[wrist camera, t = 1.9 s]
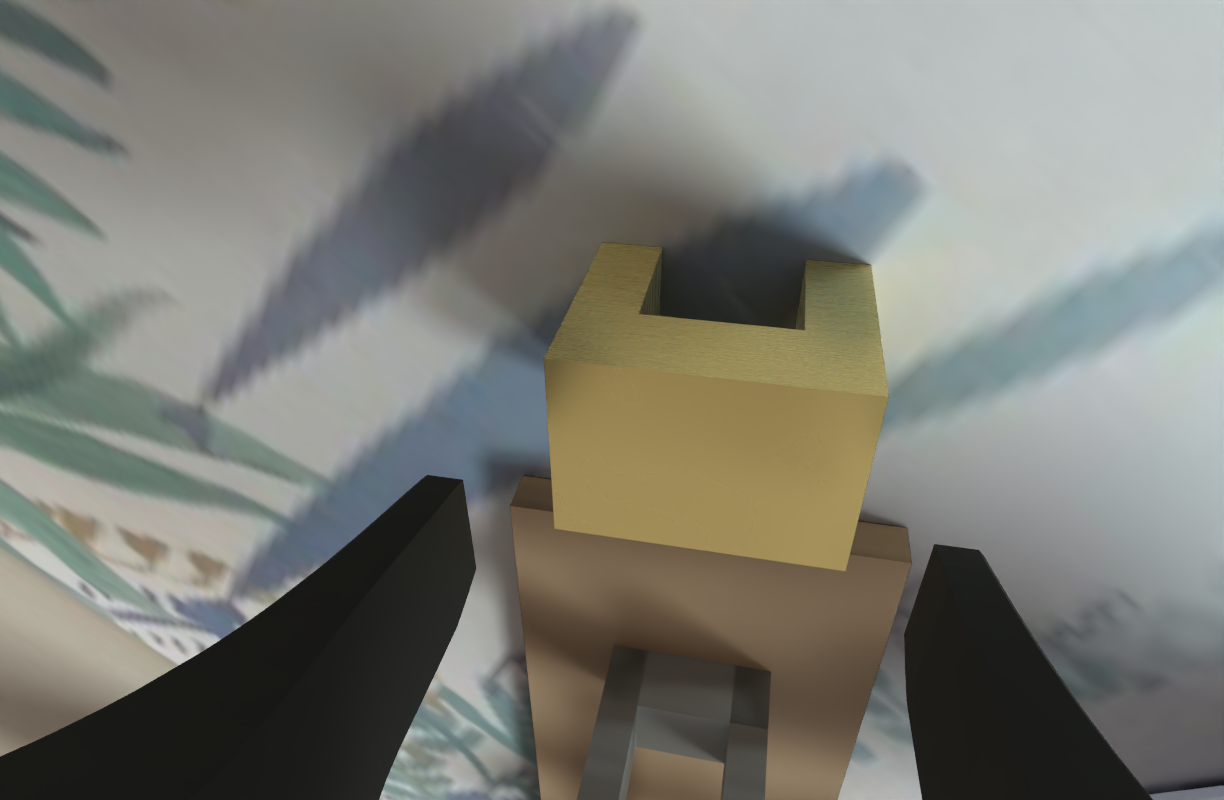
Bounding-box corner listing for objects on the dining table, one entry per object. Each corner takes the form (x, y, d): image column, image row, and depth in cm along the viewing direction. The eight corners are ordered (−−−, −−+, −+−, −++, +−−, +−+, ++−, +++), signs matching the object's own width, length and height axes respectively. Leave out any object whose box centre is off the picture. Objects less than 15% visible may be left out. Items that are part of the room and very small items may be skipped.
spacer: (602, 242, 17) (543, 358, 13) (871, 265, 16) (888, 396, 12) (604, 393, 19) (554, 528, 16) (838, 421, 19) (845, 571, 15)
